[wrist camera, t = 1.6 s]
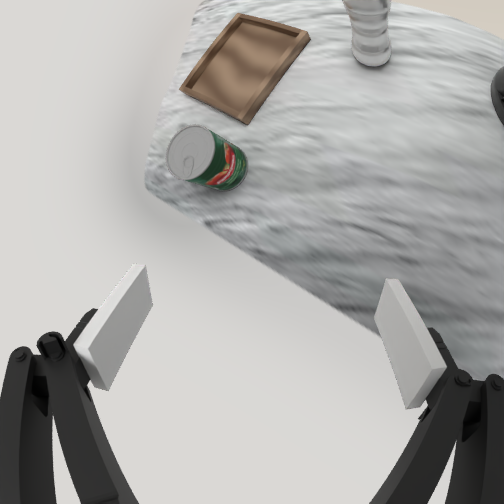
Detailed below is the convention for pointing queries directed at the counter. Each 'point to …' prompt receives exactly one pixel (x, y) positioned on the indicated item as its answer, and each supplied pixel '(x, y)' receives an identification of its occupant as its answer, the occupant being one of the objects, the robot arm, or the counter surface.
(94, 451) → the robot arm
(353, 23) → the plastic bottle
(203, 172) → the canned tomato
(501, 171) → the counter surface
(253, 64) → the walnut tray
